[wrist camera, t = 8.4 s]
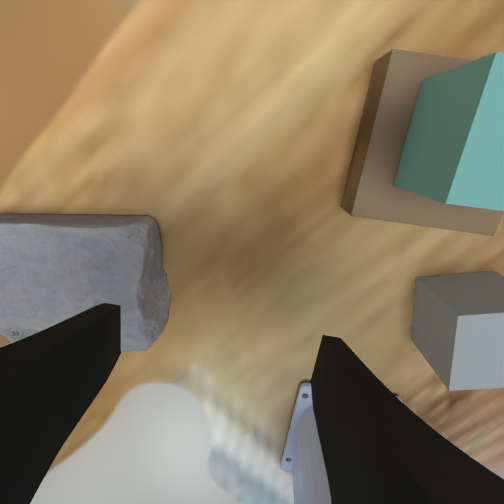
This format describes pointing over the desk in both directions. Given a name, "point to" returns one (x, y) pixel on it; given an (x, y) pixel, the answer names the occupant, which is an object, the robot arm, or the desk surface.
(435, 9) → the desk surface
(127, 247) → the stone block
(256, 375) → the desk surface
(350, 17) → the desk surface
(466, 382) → the grey cube
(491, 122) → the teal cube
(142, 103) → the desk surface
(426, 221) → the walnut base block
